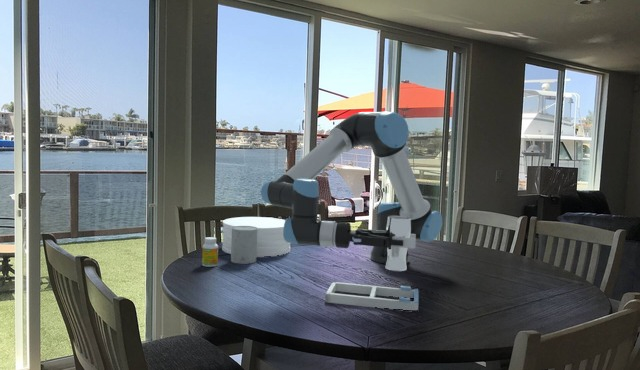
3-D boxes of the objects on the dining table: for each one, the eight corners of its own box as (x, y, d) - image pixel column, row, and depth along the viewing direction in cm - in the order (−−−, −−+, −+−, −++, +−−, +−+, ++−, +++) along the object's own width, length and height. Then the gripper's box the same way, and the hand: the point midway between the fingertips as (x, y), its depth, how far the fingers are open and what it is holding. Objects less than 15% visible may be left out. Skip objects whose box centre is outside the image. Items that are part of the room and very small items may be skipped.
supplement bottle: (201, 267, 178) (202, 239, 177) (202, 263, 183) (203, 236, 182) (217, 267, 179) (218, 239, 178) (217, 263, 184) (218, 236, 183)
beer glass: (407, 272, 143) (411, 219, 142) (382, 270, 145) (386, 218, 143) (408, 267, 150) (411, 216, 149) (384, 264, 152) (387, 214, 150)
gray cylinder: (225, 261, 187) (226, 228, 186) (239, 256, 196) (240, 224, 195) (248, 265, 184) (249, 231, 183) (261, 259, 193) (262, 227, 191)
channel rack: (325, 302, 145) (325, 293, 145) (332, 289, 158) (332, 281, 158) (417, 312, 141) (418, 303, 141) (417, 298, 154) (418, 290, 153)
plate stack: (261, 261, 192) (263, 230, 191) (207, 249, 206) (208, 221, 205) (303, 249, 215) (304, 222, 214) (251, 239, 230) (252, 214, 229)
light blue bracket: (398, 310, 142) (399, 298, 141) (400, 296, 155) (400, 285, 154) (417, 312, 141) (418, 300, 140) (417, 298, 154) (418, 287, 153)
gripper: (340, 240, 160) (414, 247, 156) (329, 253, 141) (414, 261, 136) (341, 217, 159) (416, 223, 155) (331, 227, 140) (416, 234, 136)
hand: (415, 241), depth 146 cm, fingers closed on beer glass, 7 cm apart
